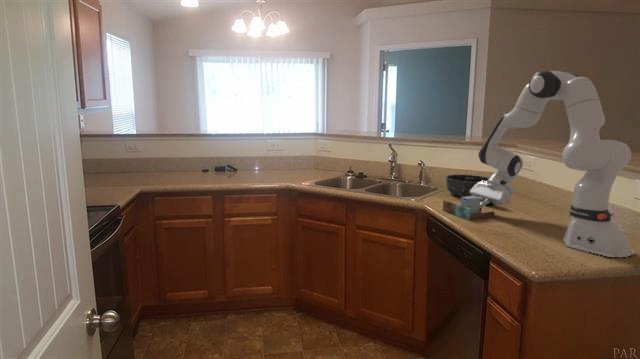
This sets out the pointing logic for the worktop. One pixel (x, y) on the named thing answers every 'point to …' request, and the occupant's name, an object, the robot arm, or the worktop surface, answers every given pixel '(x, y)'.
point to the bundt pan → (462, 184)
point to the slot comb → (464, 211)
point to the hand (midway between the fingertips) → (479, 206)
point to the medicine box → (471, 203)
